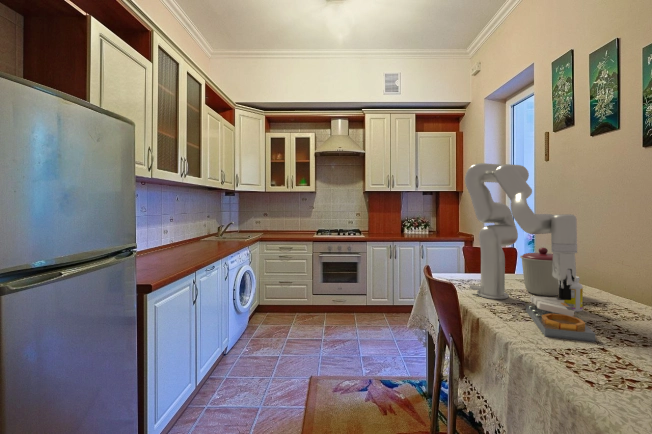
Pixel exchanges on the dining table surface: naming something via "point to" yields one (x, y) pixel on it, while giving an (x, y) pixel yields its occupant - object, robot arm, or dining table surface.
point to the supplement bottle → (576, 296)
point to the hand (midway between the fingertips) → (565, 299)
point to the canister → (539, 273)
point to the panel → (560, 325)
